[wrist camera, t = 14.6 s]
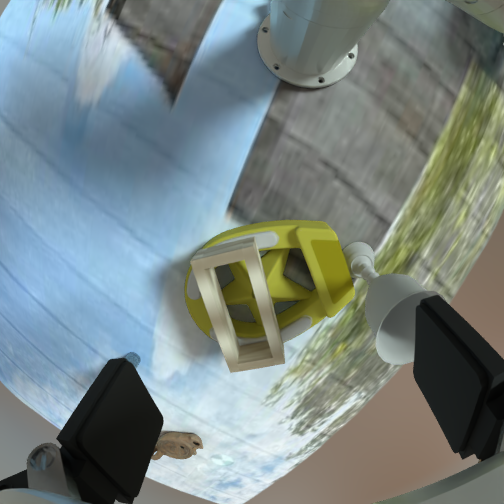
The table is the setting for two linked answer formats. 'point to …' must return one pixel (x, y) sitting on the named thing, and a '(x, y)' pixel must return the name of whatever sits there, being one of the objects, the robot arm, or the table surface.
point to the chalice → (388, 304)
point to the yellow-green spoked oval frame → (280, 279)
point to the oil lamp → (177, 445)
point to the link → (218, 312)
